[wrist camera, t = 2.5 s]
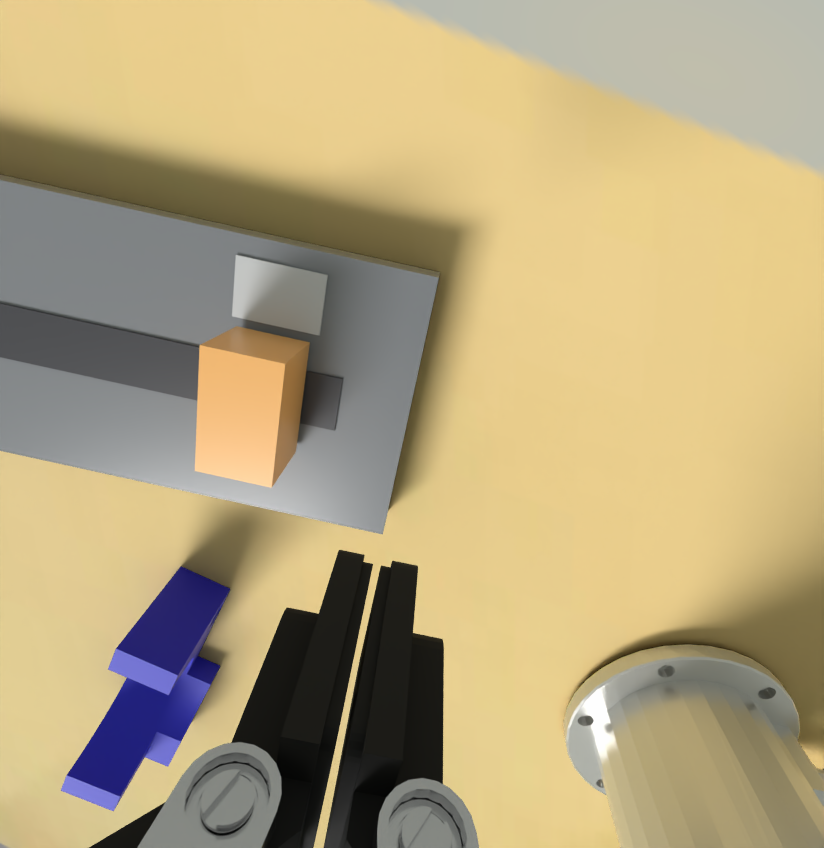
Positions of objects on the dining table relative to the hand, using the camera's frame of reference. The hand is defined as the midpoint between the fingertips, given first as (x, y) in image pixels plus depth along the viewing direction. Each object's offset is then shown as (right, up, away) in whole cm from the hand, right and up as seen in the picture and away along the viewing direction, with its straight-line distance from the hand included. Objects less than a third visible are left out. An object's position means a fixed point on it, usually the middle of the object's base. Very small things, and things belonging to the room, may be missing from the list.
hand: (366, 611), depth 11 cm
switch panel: (-12, +8, +13) cm, 19 cm away
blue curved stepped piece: (-13, -10, +20) cm, 26 cm away
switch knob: (-5, +5, +11) cm, 13 cm away
